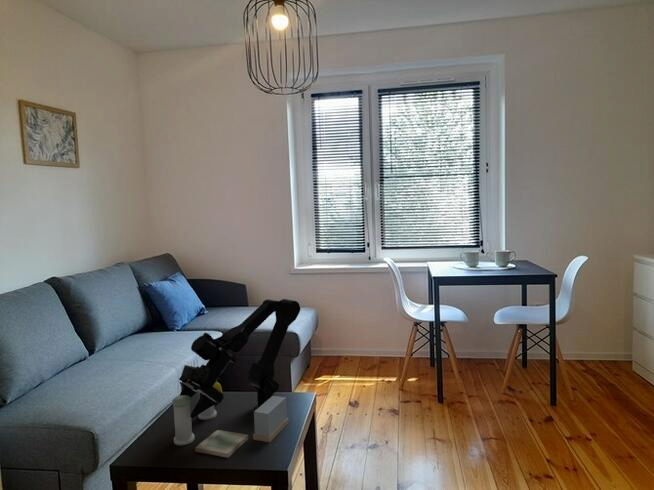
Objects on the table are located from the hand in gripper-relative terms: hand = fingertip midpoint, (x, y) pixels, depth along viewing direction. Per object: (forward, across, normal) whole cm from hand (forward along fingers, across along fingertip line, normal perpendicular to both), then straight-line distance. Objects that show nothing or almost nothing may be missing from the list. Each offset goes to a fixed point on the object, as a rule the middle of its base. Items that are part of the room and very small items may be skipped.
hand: (184, 412), depth 139 cm
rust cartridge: (-3, -10, +15) cm, 18 cm away
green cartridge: (+6, 0, +6) cm, 8 cm away
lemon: (-8, -17, +20) cm, 28 cm away
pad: (+2, +11, +10) cm, 15 cm away
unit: (-9, +15, +21) cm, 27 cm away
